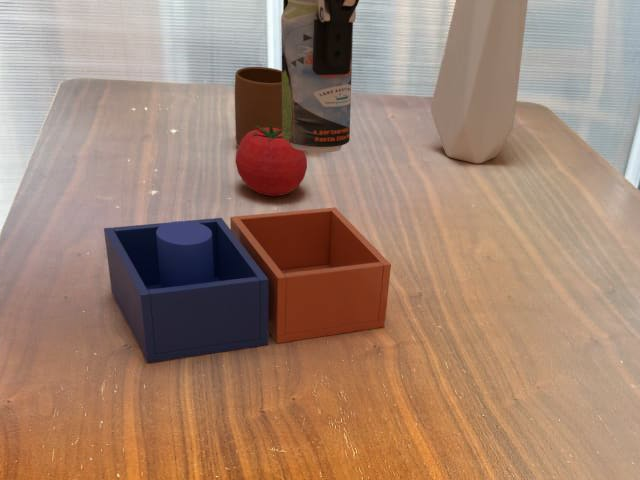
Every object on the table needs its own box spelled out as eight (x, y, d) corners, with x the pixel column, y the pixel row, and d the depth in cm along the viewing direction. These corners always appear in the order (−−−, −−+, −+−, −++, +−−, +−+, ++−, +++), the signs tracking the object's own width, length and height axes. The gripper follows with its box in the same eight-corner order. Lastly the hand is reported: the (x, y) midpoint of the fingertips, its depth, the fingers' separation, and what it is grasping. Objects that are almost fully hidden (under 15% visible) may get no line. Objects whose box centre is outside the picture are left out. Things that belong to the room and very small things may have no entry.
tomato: (231, 201, 108) (230, 133, 103) (240, 174, 114) (239, 109, 109) (303, 208, 109) (305, 141, 103) (308, 181, 115) (310, 117, 110)
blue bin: (147, 363, 80) (140, 294, 76) (111, 293, 89) (103, 228, 84) (268, 344, 85) (268, 279, 80) (223, 280, 93) (221, 217, 89)
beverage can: (308, 167, 77) (320, 13, 69) (259, 136, 81) (265, -14, 72) (363, 157, 81) (380, 10, 72) (313, 128, 84) (325, -16, 76)
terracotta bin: (277, 343, 85) (277, 278, 80) (231, 279, 94) (230, 216, 89) (384, 327, 90) (391, 264, 85) (332, 267, 98) (335, 207, 94)
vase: (416, 158, 126) (450, -128, 104) (439, 134, 134) (475, -135, 112) (498, 177, 124) (550, -110, 102) (516, 152, 132) (568, -119, 110)
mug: (325, 147, 125) (329, 75, 119) (318, 166, 119) (322, 92, 113) (241, 135, 125) (240, 63, 118) (230, 154, 119) (229, 79, 113)
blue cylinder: (170, 327, 84) (164, 246, 78) (156, 302, 87) (149, 223, 81) (221, 320, 86) (219, 241, 80) (206, 295, 89) (202, 218, 83)
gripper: (237, -228, 68) (240, 33, 80) (324, -201, 57) (313, 95, 69) (326, -217, 71) (317, 32, 83) (425, -190, 60) (398, 92, 72)
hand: (315, 59), depth 76 cm, fingers closed on beverage can, 6 cm apart
